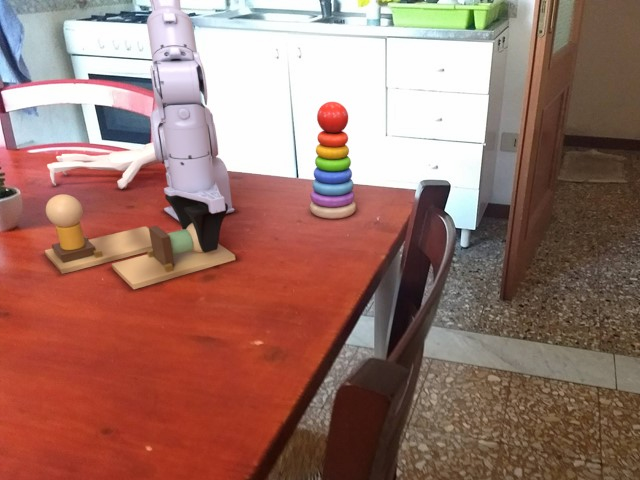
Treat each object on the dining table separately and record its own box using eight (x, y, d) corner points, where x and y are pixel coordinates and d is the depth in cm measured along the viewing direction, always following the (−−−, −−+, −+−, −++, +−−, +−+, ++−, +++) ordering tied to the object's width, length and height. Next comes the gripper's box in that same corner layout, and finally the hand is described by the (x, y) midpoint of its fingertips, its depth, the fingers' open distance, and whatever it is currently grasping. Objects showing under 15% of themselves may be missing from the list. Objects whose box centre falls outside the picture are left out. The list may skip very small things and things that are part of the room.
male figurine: (52, 202, 117) (188, 178, 118) (38, 170, 114) (178, 146, 115) (74, 178, 129) (197, 157, 130) (62, 149, 126) (188, 128, 127)
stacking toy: (345, 223, 106) (343, 109, 97) (302, 216, 108) (296, 104, 99) (362, 207, 113) (362, 100, 104) (321, 201, 115) (317, 95, 106)
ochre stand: (146, 230, 102) (144, 220, 101) (166, 246, 96) (165, 236, 96) (45, 254, 93) (42, 244, 92) (62, 274, 88) (59, 263, 87)
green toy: (210, 242, 96) (206, 213, 94) (224, 252, 93) (221, 222, 91) (153, 257, 91) (148, 227, 89) (166, 268, 88) (161, 237, 86)
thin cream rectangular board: (211, 242, 98) (209, 232, 97) (235, 259, 93) (234, 249, 92) (112, 268, 90) (110, 257, 89) (133, 289, 84) (131, 278, 84)
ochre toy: (72, 187, 90) (37, 194, 88) (83, 196, 87) (47, 203, 85) (86, 243, 95) (53, 251, 92) (96, 254, 92) (63, 262, 89)
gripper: (139, 146, 89) (155, 235, 95) (183, 172, 79) (198, 269, 86) (187, 138, 93) (199, 224, 99) (234, 162, 83) (244, 255, 90)
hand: (202, 244), depth 93 cm, fingers closed on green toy, 4 cm apart
